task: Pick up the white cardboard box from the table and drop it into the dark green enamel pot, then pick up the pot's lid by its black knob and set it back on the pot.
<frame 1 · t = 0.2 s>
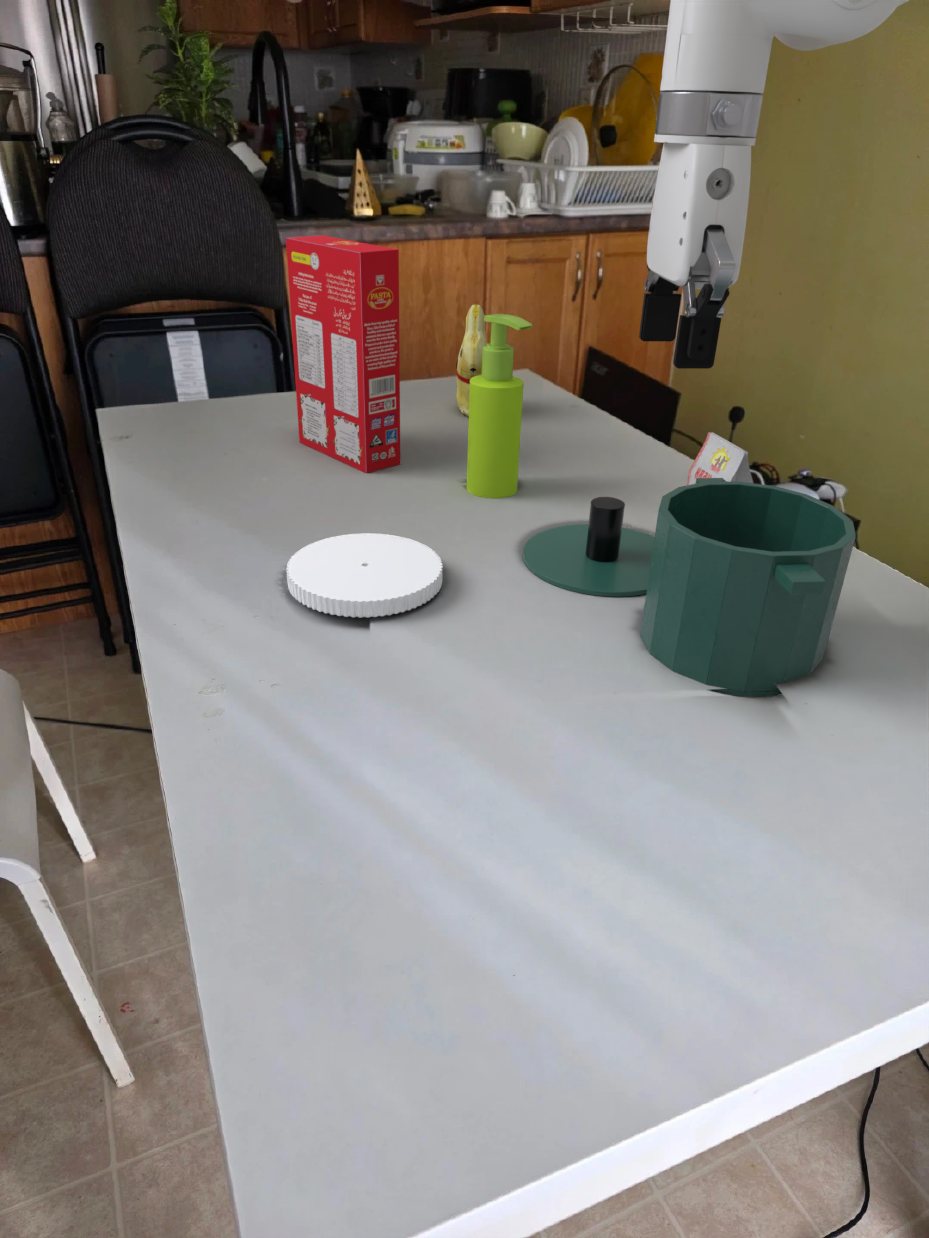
hand: (673, 353, 75), 21 cm above the table, tool pointing down, fingers open, 9 cm apart
pot: (727, 648, 74), on the table
food packaging: (348, 454, 114), on the table
soap dispenser: (494, 496, 102), on the table
plastic lid: (366, 591, 81), on the table
white cardboard box: (711, 533, 95), on the table
pot lid: (601, 559, 87), point 1 cm above the table
chocolate bunny: (477, 411, 132), on the table
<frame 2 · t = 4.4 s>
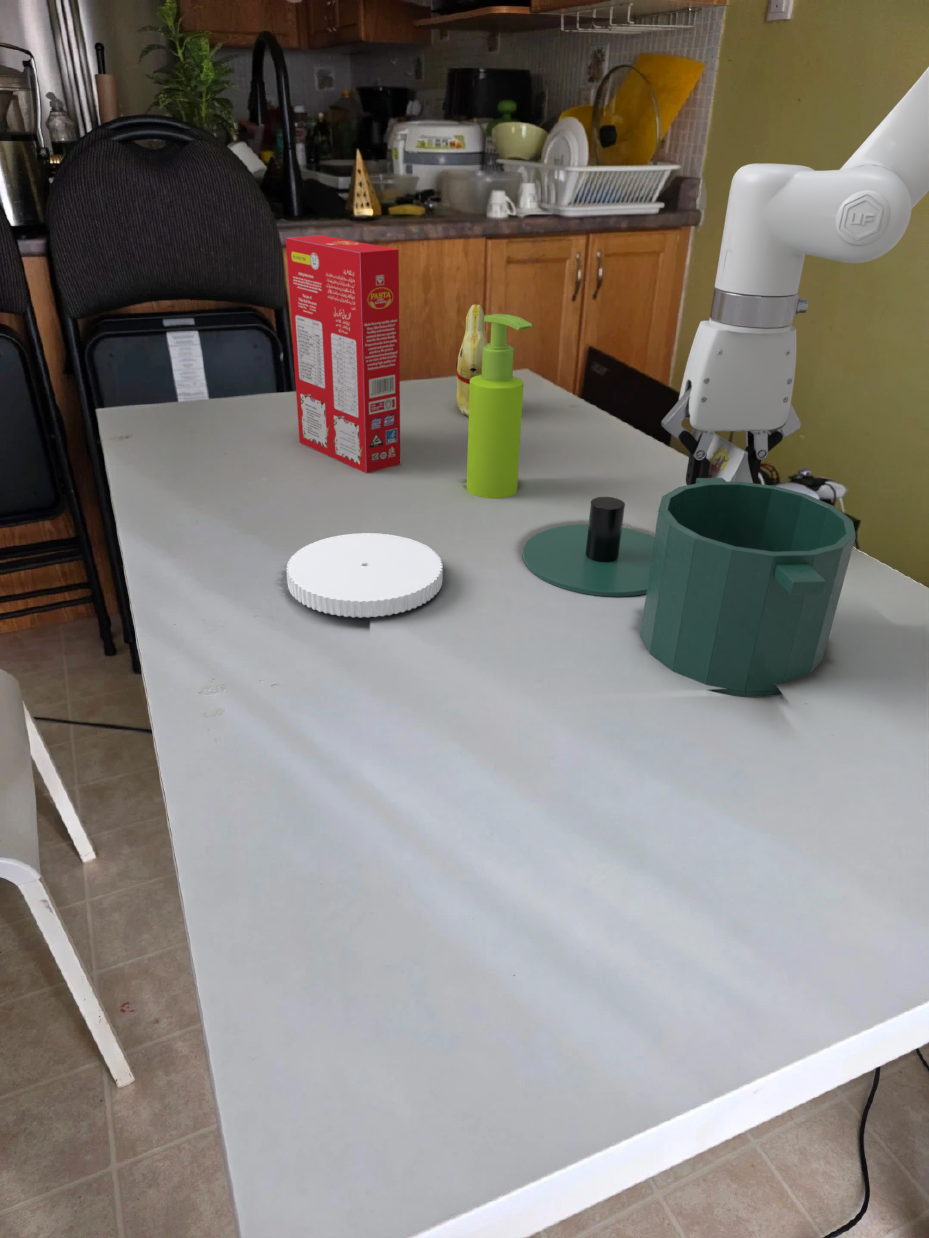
hand: (719, 490, 92), 5 cm above the table, tool pointing down, fingers closed on white cardboard box, 4 cm apart
white cardboard box: (711, 533, 95), on the table, touching gripper
everything else where it was.
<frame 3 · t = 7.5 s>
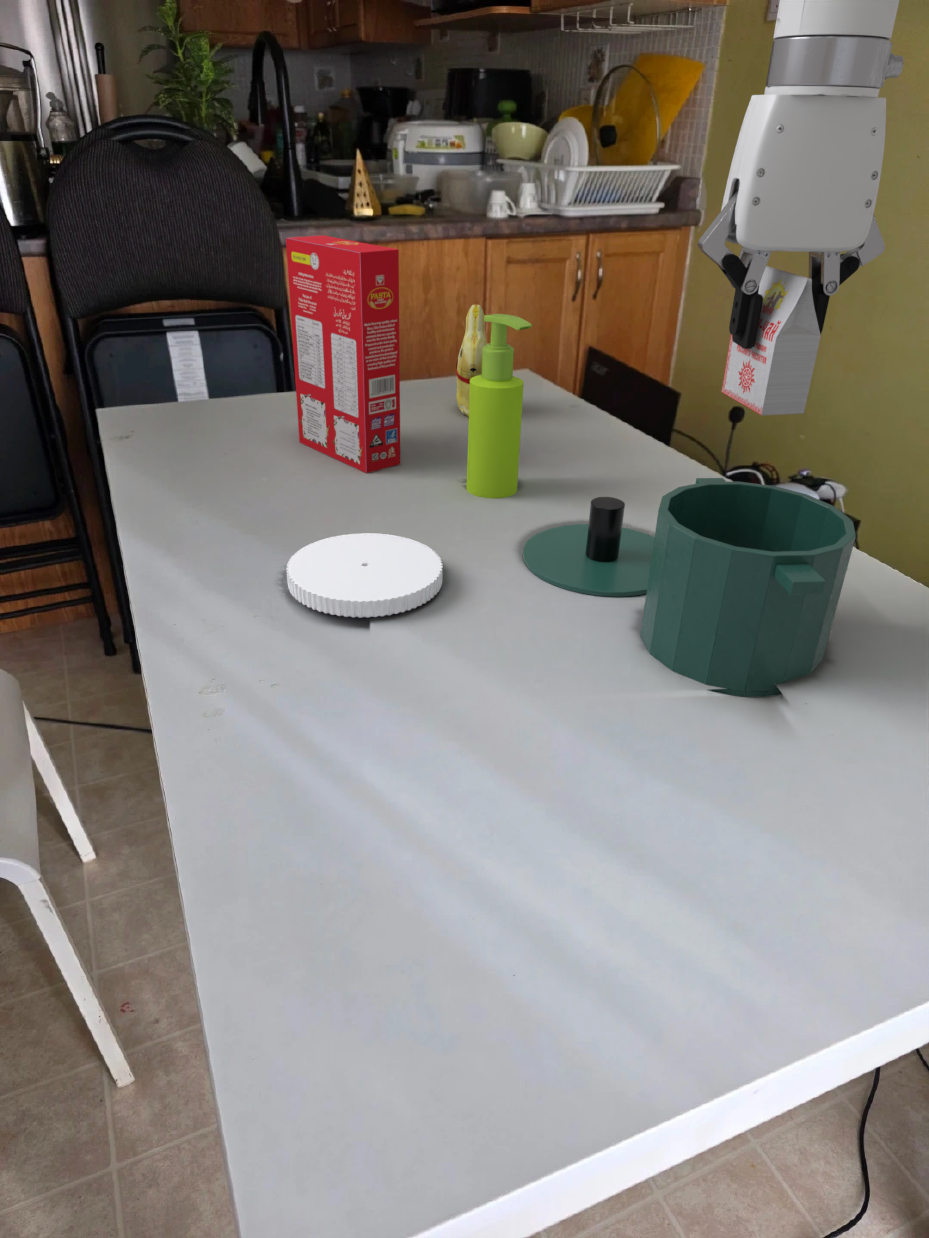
hand: (772, 342, 70), 23 cm above the table, tool pointing down, fingers closed on white cardboard box, 4 cm apart
white cardboard box: (760, 404, 72), point 18 cm above the table, touching gripper
everything else where it was.
when the fingers open (14 cm above the table, at t = 10.9 s): white cardboard box drops 7 cm, resting on pot.
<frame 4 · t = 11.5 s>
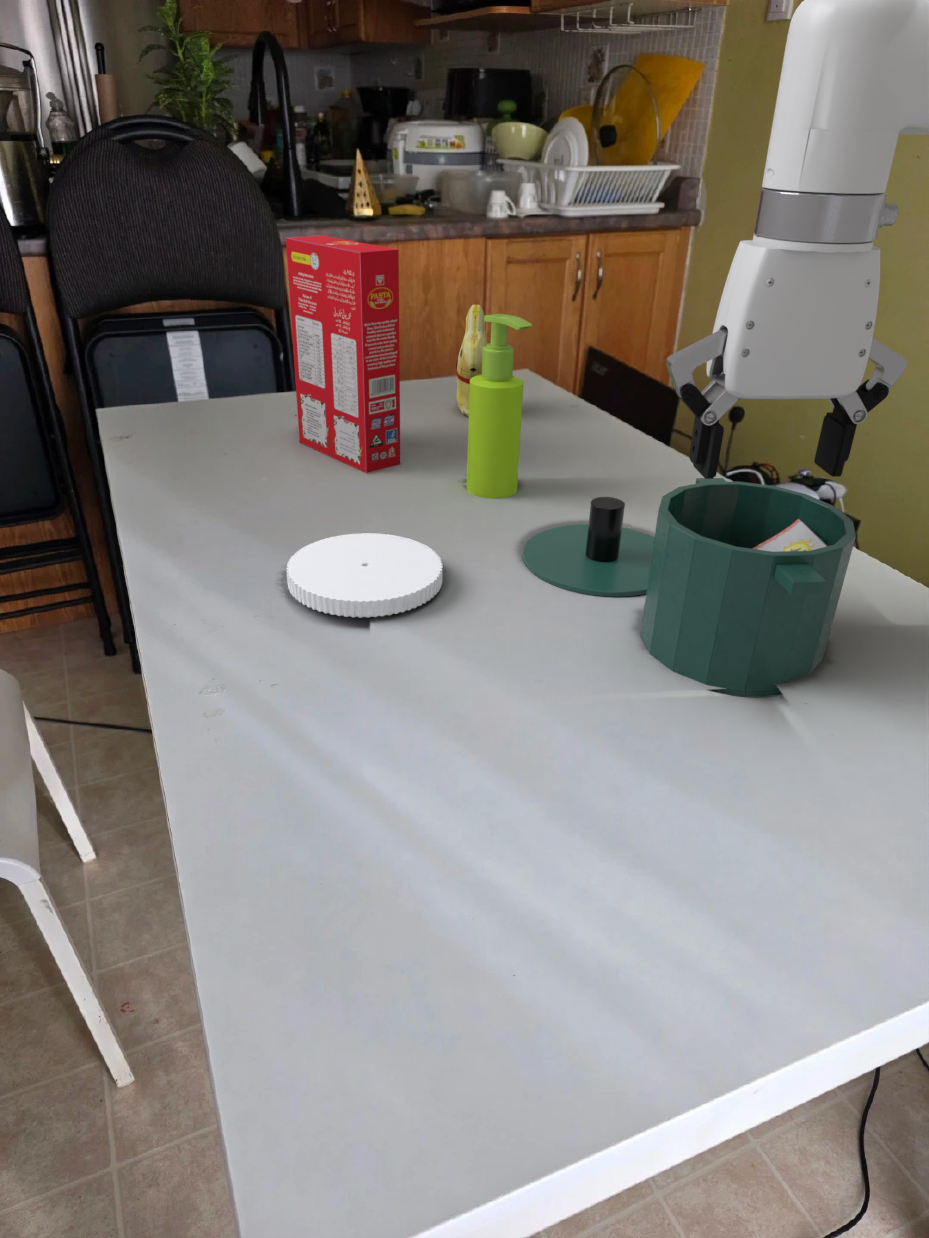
hand: (765, 471, 66), 16 cm above the table, tool pointing down, fingers open, 9 cm apart
white cardboard box: (734, 634, 73), point 1 cm above the table, touching pot
everything else where it was.
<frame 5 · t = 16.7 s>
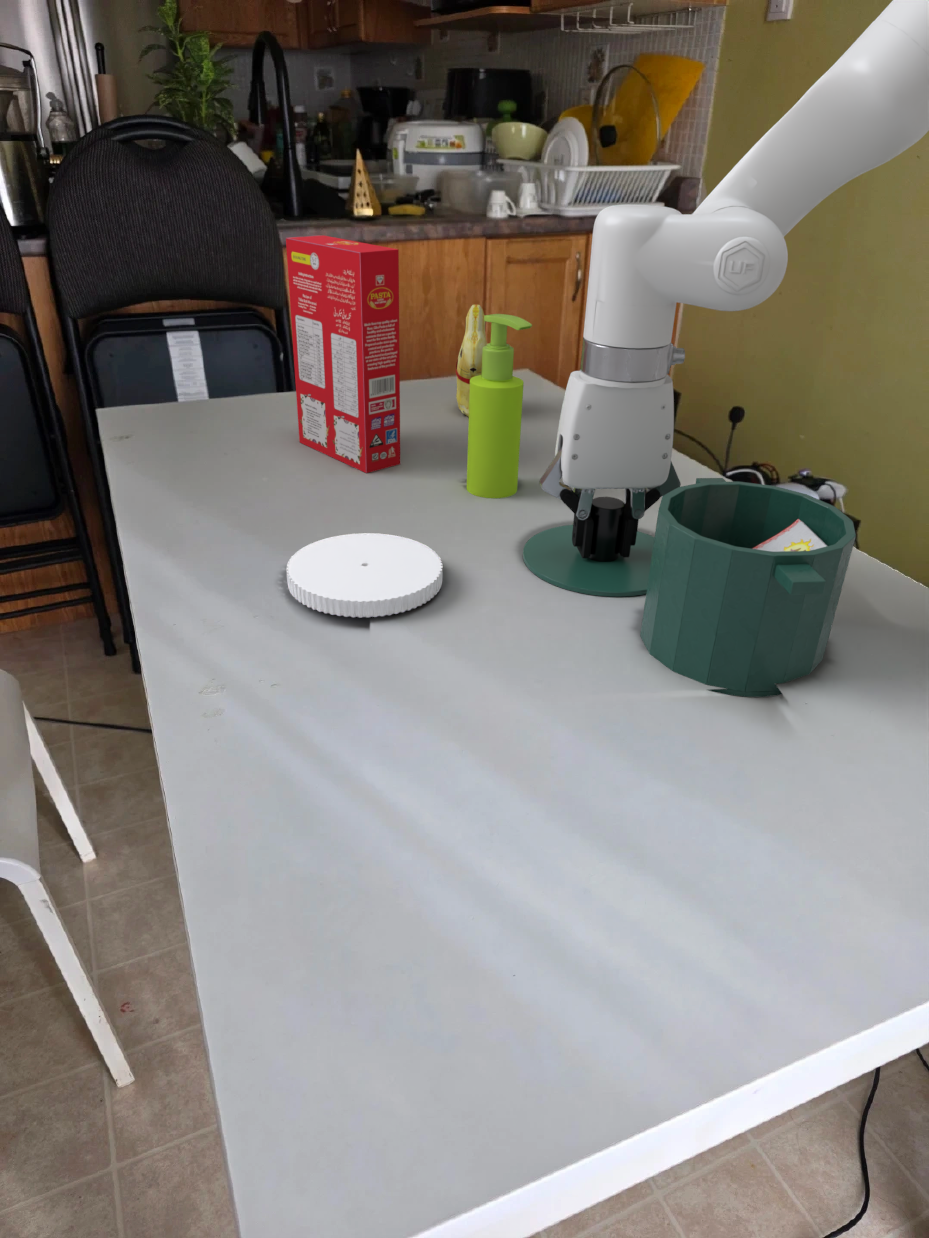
hand: (602, 550, 86), 2 cm above the table, tool pointing down, fingers closed on pot lid, 3 cm apart
pot lid: (601, 559, 87), point 1 cm above the table, touching gripper
everything else where it was.
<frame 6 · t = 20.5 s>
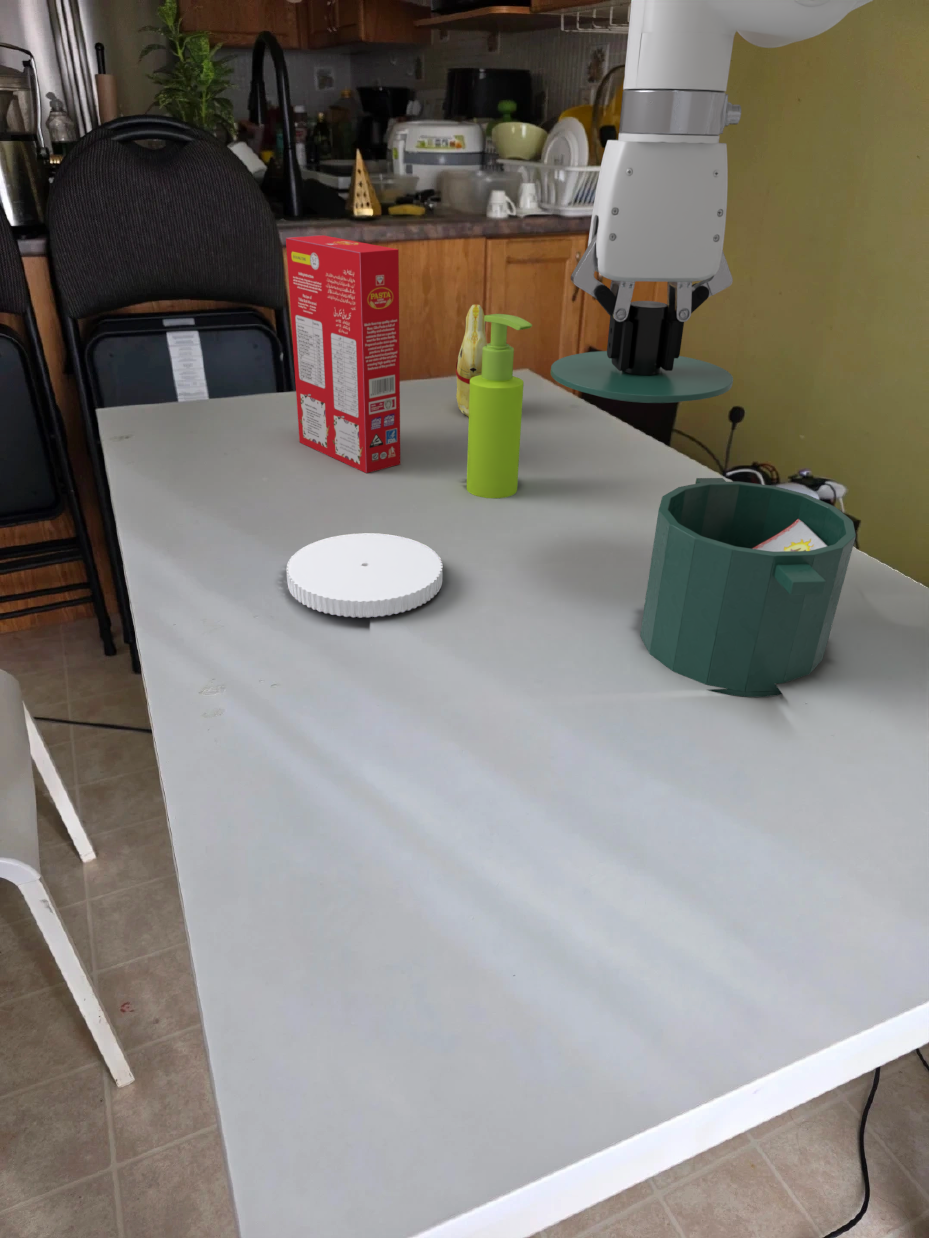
hand: (641, 365, 75), 20 cm above the table, tool pointing down, fingers closed on pot lid, 3 cm apart
pot lid: (640, 377, 76), point 19 cm above the table, touching gripper
everything else where it was.
when the fingers open (13 cm above the table, at t = 24.6 s): pot lid stays where it is, resting on pot.
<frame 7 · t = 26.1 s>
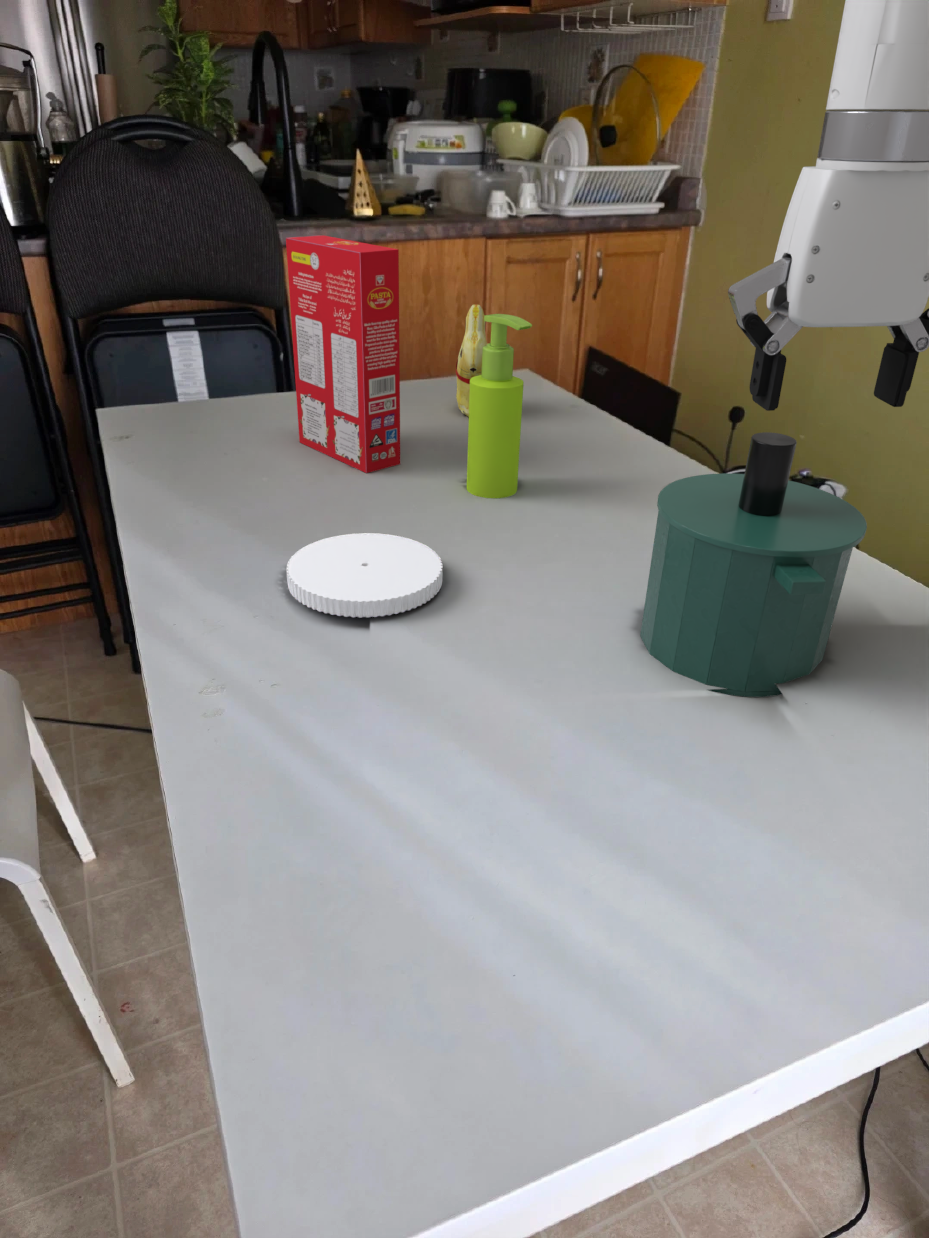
hand: (826, 403, 66), 20 cm above the table, tool pointing down, fingers open, 9 cm apart
pot lid: (758, 514, 68), point 12 cm above the table, touching pot
everything else where it was.
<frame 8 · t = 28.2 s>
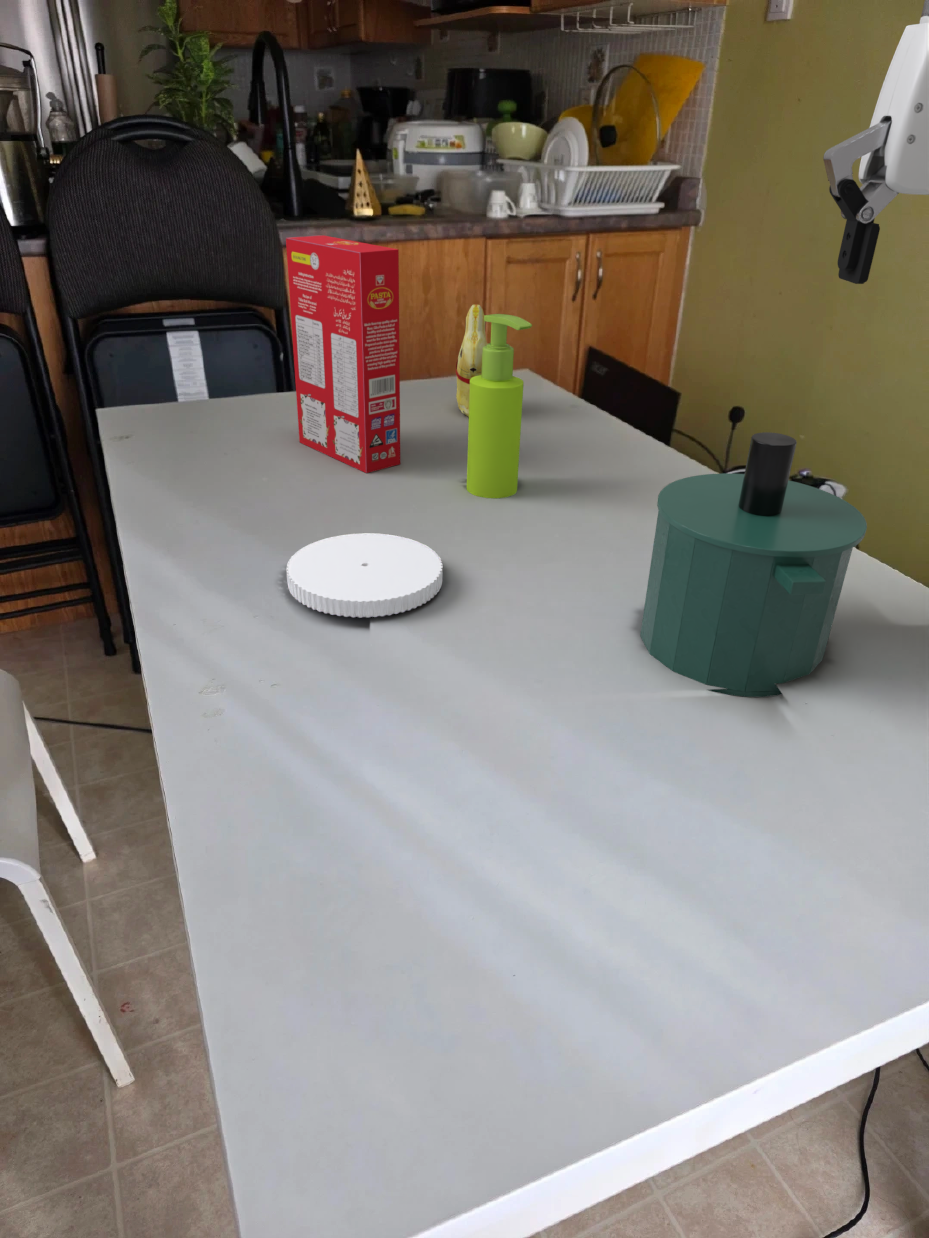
hand: (913, 282, 65), 28 cm above the table, tool pointing down, fingers open, 9 cm apart
nothing on the table moved.
at the end: white cardboard box inside the target area in the pot (0.3 cm from its centre), point 1.3 cm above the pot's base; pot lid 0.3 cm off-centre on the pot, point 12.0 cm above the pot's base; pot lid tilted 0° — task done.
